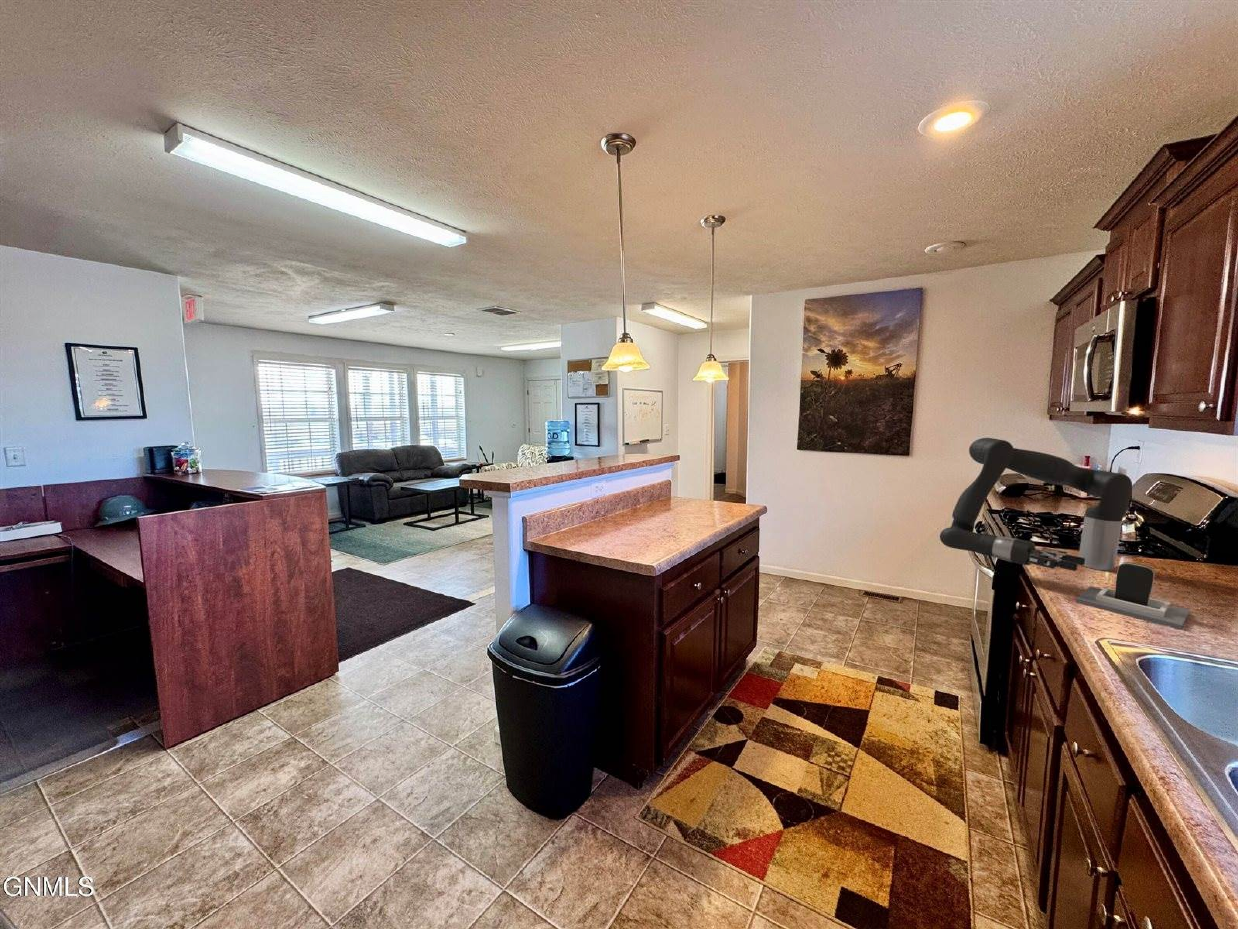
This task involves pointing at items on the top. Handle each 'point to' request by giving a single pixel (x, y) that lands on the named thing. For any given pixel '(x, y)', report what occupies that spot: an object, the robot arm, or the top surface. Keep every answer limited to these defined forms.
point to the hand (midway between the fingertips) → (1080, 564)
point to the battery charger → (1134, 583)
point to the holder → (1135, 607)
